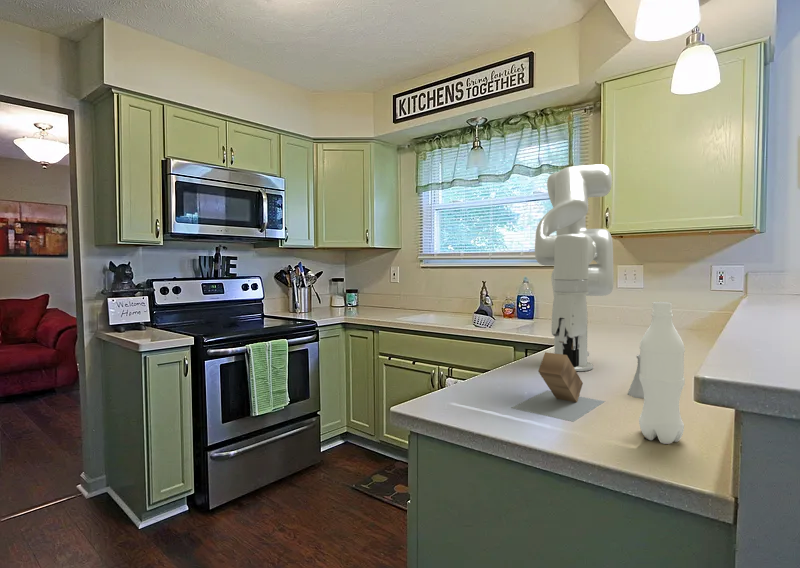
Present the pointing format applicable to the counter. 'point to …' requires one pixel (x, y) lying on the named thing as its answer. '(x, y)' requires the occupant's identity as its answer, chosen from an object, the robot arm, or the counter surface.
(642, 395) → the flask
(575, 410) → the mat
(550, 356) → the cardboard box
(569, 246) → the robot arm
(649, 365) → the water bottle
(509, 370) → the counter surface
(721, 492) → the counter surface
